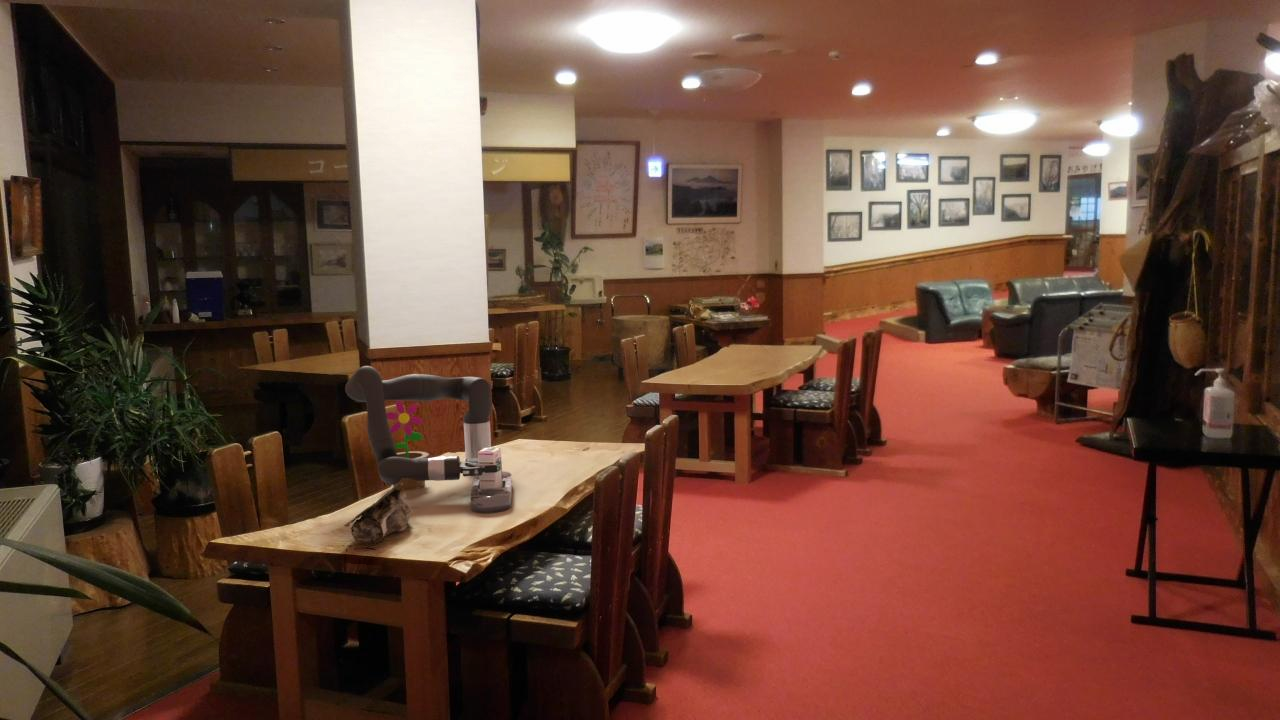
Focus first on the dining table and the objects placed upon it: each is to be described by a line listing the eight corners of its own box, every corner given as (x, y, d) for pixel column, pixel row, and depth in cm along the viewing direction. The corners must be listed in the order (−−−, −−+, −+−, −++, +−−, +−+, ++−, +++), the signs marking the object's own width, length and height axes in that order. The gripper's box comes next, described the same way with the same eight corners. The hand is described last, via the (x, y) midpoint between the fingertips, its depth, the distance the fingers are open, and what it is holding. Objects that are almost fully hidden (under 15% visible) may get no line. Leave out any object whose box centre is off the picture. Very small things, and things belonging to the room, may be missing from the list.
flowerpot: (385, 493, 296) (379, 402, 292) (388, 482, 310) (382, 396, 306) (430, 489, 299) (425, 399, 295) (431, 478, 313) (426, 393, 309)
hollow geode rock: (362, 568, 238) (396, 530, 235) (327, 536, 238) (360, 496, 235) (406, 532, 265) (437, 497, 262) (374, 503, 266) (405, 467, 262)
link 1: (511, 500, 281) (510, 488, 281) (472, 503, 280) (471, 490, 279) (512, 481, 305) (511, 470, 304) (476, 484, 303) (475, 472, 303)
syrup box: (497, 496, 283) (495, 451, 281) (479, 496, 284) (477, 450, 282) (503, 492, 288) (501, 447, 287) (485, 491, 290) (484, 447, 288)
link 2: (474, 493, 292) (473, 481, 291) (511, 490, 293) (511, 478, 293) (469, 514, 268) (469, 501, 267) (510, 511, 269) (510, 498, 269)
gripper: (441, 461, 276) (496, 459, 278) (445, 451, 290) (497, 449, 292) (442, 485, 277) (497, 483, 279) (446, 474, 291) (498, 472, 293)
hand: (497, 465), depth 285 cm, fingers closed on syrup box, 7 cm apart
